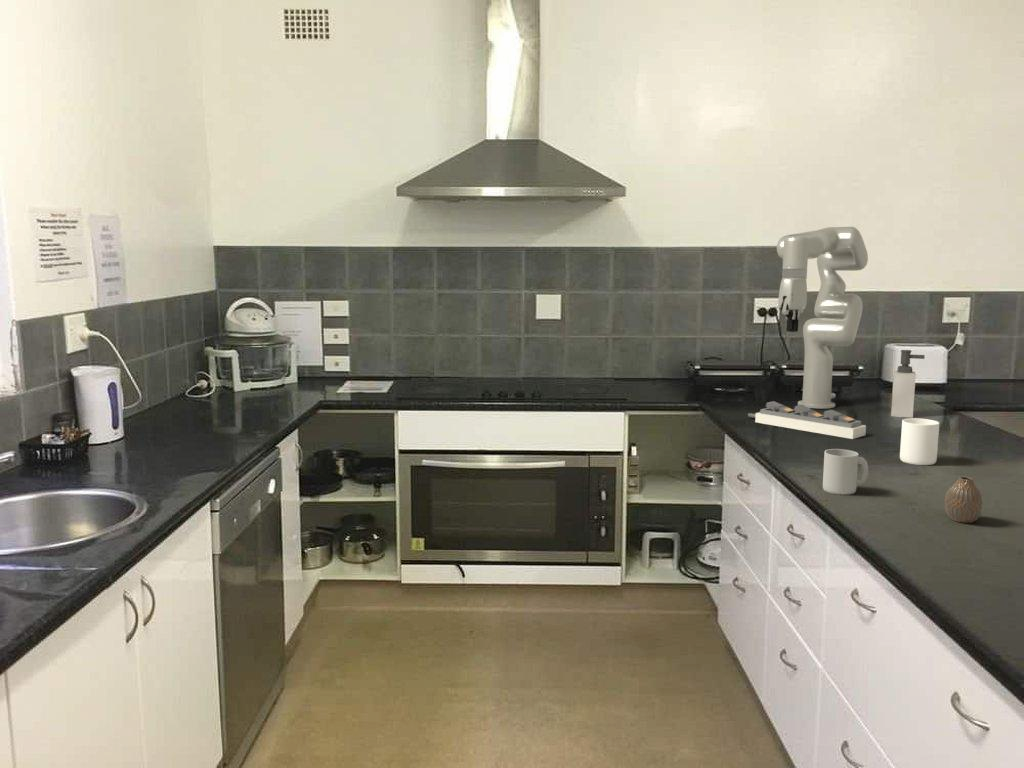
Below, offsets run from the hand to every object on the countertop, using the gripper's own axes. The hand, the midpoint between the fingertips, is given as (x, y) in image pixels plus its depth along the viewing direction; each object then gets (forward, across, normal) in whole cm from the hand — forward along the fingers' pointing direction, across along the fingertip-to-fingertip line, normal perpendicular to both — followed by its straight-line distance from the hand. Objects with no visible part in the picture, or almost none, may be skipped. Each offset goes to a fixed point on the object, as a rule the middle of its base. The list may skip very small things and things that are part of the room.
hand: (792, 331), depth 260 cm
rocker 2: (+24, +9, +12) cm, 29 cm away
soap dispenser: (+29, -34, +23) cm, 50 cm away
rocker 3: (+24, +9, +22) cm, 34 cm away
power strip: (+29, +9, +10) cm, 32 cm away
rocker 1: (+24, +9, +2) cm, 26 cm away
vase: (+29, +66, +80) cm, 108 cm away
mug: (+29, +24, +52) cm, 64 cm away
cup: (+29, +64, +54) cm, 89 cm away
